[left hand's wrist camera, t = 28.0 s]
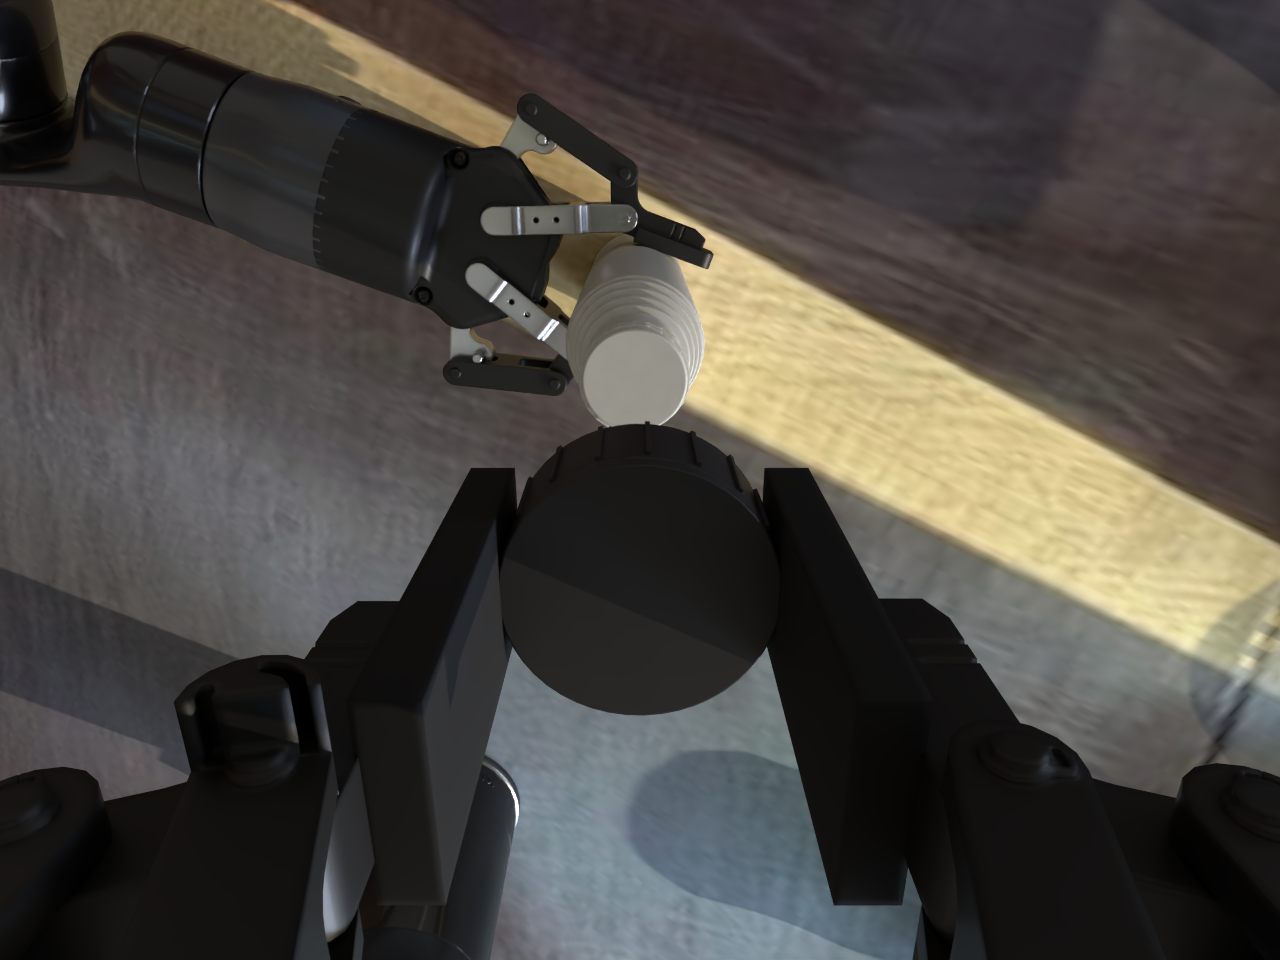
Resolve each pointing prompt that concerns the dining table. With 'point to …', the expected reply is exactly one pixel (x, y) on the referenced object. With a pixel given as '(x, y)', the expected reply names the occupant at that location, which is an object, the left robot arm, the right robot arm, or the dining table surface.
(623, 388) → the bottle
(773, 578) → the cap
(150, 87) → the right robot arm
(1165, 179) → the dining table surface
